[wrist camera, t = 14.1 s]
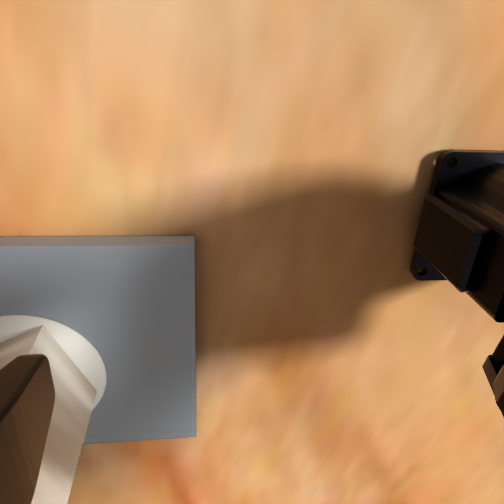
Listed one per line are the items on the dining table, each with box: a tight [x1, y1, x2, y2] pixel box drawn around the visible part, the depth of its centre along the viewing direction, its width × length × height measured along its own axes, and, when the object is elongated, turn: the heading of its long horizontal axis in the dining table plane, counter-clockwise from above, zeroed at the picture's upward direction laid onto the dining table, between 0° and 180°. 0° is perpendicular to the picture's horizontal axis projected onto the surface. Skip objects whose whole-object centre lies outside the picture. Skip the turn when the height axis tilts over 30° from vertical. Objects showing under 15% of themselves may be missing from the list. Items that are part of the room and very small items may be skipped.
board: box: [0, 236, 196, 444], centre depth 21 cm, size 14×12×1 cm
